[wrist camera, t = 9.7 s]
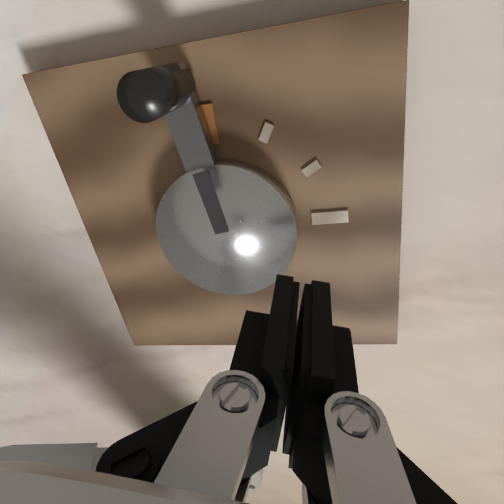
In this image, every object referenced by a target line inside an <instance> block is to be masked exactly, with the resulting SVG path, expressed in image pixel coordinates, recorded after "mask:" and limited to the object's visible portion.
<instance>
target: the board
mask: <svg viewBox="0 0 504 504" xmlns="http://www.w3.org/2000/svg"><path fill="white" fill-rule="evenodd" d="M408 17H409V0H406V1H401V2H396V3H391V4H385V5H380V6H375V7H370V8H365V9H360V10H354V11H349V12H344V13H339V14H334V15H328V16H323V17H318V18H313V19H308V20H302V21H297V22H292V23H287V24H282V25H277V26H271V27H266V28H261V29H256V30H251V31H245V32H240V33H235V34H230V35H225V36H220V37H214V38H209V39H204V40H199V41H194V42H188V43H183V44H178V45H173V46H168V47H163V48H157V49H152V50H147V51H142V52H137V53H131V54H126V55H121V56H116V57H111V58H105V59H100V60H95V61H90V62H85V63H80V64H74V65H69V66H64V67H59V68H54V69H48V70H43V71H38V72H33V73H28V74H23V75H22V76H23V78H24V81H25V83H26V86H27V88H28V90H29V93H30V95H31V98H32V100H33V103H34V105H35V107H36V110H37V112H38V115H39V117H40V119H41V122H42V124H43V127H44V129H45V131H46V134H47V136H48V139H49V141H50V143H51V146H52V148H53V151H54V153H55V156H56V158H57V160H58V163H59V165H60V168H61V170H62V172H63V175H64V177H65V180H66V182H67V184H68V187H69V189H70V192H71V194H72V197H73V199H74V201H75V204H76V206H77V209H78V211H79V213H80V216H81V218H82V221H83V223H84V225H85V228H86V230H87V233H88V235H89V237H90V240H91V242H92V245H93V247H94V250H95V252H96V254H97V257H98V259H99V262H100V264H101V266H102V269H103V271H104V274H105V276H106V278H107V281H108V283H109V286H110V288H111V291H112V293H113V295H114V298H115V300H116V303H117V305H118V307H119V310H120V312H121V315H122V317H123V319H124V322H125V324H126V327H127V329H128V331H129V334H130V336H131V339H132V341H133V344H134V345H237V341H238V337H239V334H240V330H241V327H242V323H243V319H244V316H245V312H246V310H249V311H255V312H260V313H266V314H270V310H271V304H272V299H273V293H274V287H275V282H274V283H273V284H271V285H270V286H268V287H266V288H264V289H262V290H259V291H256V292H253V293H248V294H241V295H227V294H220V293H216V292H212V291H209V290H206V289H203V288H201V287H199V286H197V285H195V284H193V283H192V282H190V281H189V280H187V279H186V278H184V277H183V276H182V275H181V274H180V273H179V272H178V271H176V269H175V268H174V267H173V266H172V265H171V264H170V262H169V261H168V260H167V258H166V257H165V255H164V253H163V251H162V249H161V246H160V244H159V241H158V237H157V232H156V214H157V209H158V206H159V203H160V201H161V199H162V197H163V195H164V193H165V192H166V191H167V189H168V188H169V187H170V186H171V185H172V184H173V183H174V182H175V181H176V180H177V179H178V178H179V177H180V176H181V175H182V174H183V173H184V172H186V170H185V168H184V165H183V163H182V160H181V157H180V155H179V152H178V150H177V147H176V145H175V142H174V140H173V137H172V134H171V132H170V129H169V127H168V124H167V122H166V119H165V117H164V116H162V117H160V118H158V119H156V120H154V121H153V122H150V123H139V122H136V121H134V120H132V119H130V118H129V117H128V116H127V115H126V114H125V113H124V112H123V110H122V109H121V107H120V105H119V103H118V99H117V86H118V83H119V81H120V79H121V78H122V76H123V75H125V74H126V73H128V72H130V71H135V70H140V69H145V68H150V67H154V66H159V65H164V64H169V63H183V62H185V63H186V65H187V68H188V69H189V70H190V71H191V73H192V75H193V77H194V79H195V84H196V90H195V92H196V95H197V97H198V100H199V103H200V106H201V109H202V112H203V115H204V118H205V121H206V124H207V126H208V129H209V132H210V135H211V138H212V141H213V144H214V147H215V150H216V153H217V156H218V158H219V159H230V160H237V161H242V162H246V163H249V164H251V165H254V166H256V167H258V168H260V169H262V170H263V171H265V172H267V173H268V174H270V175H271V176H272V177H273V178H274V179H275V180H277V181H278V182H279V184H280V185H281V186H282V187H283V188H284V189H285V191H286V192H287V194H288V195H289V197H290V199H291V201H292V203H293V205H294V208H295V211H296V216H297V222H298V232H297V241H296V249H295V253H294V256H293V259H292V261H291V263H290V265H289V267H288V268H287V270H286V271H285V272H284V274H283V275H285V276H292V277H294V279H293V281H294V282H300V286H299V300H298V314H299V309H300V304H301V299H302V294H303V289H304V285H305V283H306V284H311V282H312V280H316V281H322V282H328V283H330V292H331V308H332V324H333V325H335V326H340V327H346V328H349V329H350V331H351V337H352V344H397V330H398V301H399V273H400V244H401V216H402V187H403V159H404V130H405V102H406V73H407V45H408ZM298 314H297V319H298Z"/></svg>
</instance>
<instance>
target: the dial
mask: <svg viewBox="0 0 504 504" xmlns="http://www.w3.org/2000/svg"><path fill="white" fill-rule="evenodd" d="M195 90H196V84H195V79H194V77H193V75H192V73H191V71H190V70H189V69H188V68H187V65H186V63H185V62H183V63H169V64H164V65H159V66H154V67H150V68H145V69H140V70H135V71H130V72H128V73H126V74H125V75H123V76H122V78H121V79H120V81H119V83H118V86H117V99H118V103H119V105H120V107H121V109H122V110H123V112H124V113H125V114H126V115H127V116H128V117H129V118H130V119H132V120H134V121H136V122H139V123H150V122H153V121H154V120H156V119H158V118H160V117H162V116H164V117H165V119H166V122H167V124H168V127H169V129H170V132H171V134H172V137H173V140H174V142H175V145H176V147H177V150H178V152H179V155H180V157H181V160H182V163H183V165H184V168H185V170H186V172H184V173H183V174H182V175H181V176H180V177H179V178H178V179H177V180H176V181H175V182H174V183H173V184H172V185H171V186H170V187H169V188H168V189H167V191H166V192H165V193H164V195H163V197H162V199H161V201H160V203H159V206H158V209H157V214H156V232H157V237H158V241H159V244H160V246H161V249H162V251H163V253H164V255H165V257H166V258H167V260H168V261H169V262H170V264H171V265H172V266H173V267H174V268H175V269H176V271H178V272H179V273H180V274H181V275H182V276H183V277H184V278H186V279H187V280H189V281H190V282H192V283H193V284H195V285H197V286H199V287H201V288H203V289H206V290H209V291H212V292H216V293H220V294H227V295H241V294H248V293H253V292H256V291H259V290H262V289H264V288H266V287H268V286H270V285H271V284H273V283H274V282H276V276H277V274H279V275H283V274H284V272H285V271H286V270H287V268H288V267H289V265H290V263H291V261H292V259H293V256H294V253H295V249H296V241H297V232H298V222H297V216H296V211H295V208H294V205H293V203H292V201H291V199H290V197H289V195H288V194H287V192H286V191H285V189H284V188H283V187H282V186H281V185H280V184H279V182H278V181H277V180H275V179H274V178H273V177H272V176H271V175H270V174H268V173H267V172H265V171H263V170H262V169H260V168H258V167H256V166H254V165H251V164H249V163H246V162H242V161H237V160H230V159H219V158H218V156H217V153H216V150H215V147H214V144H213V141H212V138H211V135H210V132H209V129H208V126H207V124H206V121H205V118H204V115H203V112H202V109H201V106H200V103H199V100H198V97H197V95H196V92H195Z"/></svg>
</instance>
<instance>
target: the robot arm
mask: <svg viewBox="0 0 504 504" xmlns="http://www.w3.org/2000/svg"><path fill="white" fill-rule="evenodd" d="M293 279H294V277H292V276H285V275H279V274H277V276H276V282H275V287H274V293H273V299H272V304H271V310H270V314H266V313H260V312H255V311H249V310H246V312H245V316H244V319H243V323H242V327H241V330H240V334H239V337H238V341H237V345H236V348H235V352H234V356H233V359H232V363H231V367H230V370H227V371H224V372H221V373H218V374H217V375H215V376H214V377H212V379H211V380H210V381H209V382H208V384H207V385H206V387H205V389H204V391H203V393H202V395H201V396H200V398H199V400H198V401H197V402H195V403H193V404H191V405H189V406H187V407H185V408H183V409H181V410H179V411H177V412H175V413H173V414H171V415H169V416H167V417H165V418H163V419H161V420H159V421H157V422H155V423H153V424H151V425H149V426H147V427H145V428H143V429H140V430H138V431H136V432H134V433H132V434H130V435H128V436H126V437H124V438H122V439H120V440H119V441H117V442H116V443H114V444H113V445H111V446H110V447H109V448H98V445H97V443H80V444H34V445H11V446H5V447H1V448H0V504H249V503H245V499H246V496H248V495H250V494H252V493H253V492H255V491H256V490H257V489H258V487H259V486H260V484H261V480H262V468H264V467H265V466H267V465H268V460H269V455H270V451H275V452H276V451H277V446H278V442H279V437H280V432H281V428H282V423H283V418H284V413H285V409H286V415H285V427H284V438H283V453H285V454H289V455H290V456H289V468H292V470H293V472H294V473H295V474H296V475H297V477H298V478H299V479H300V480H301V482H302V483H303V484H302V499H303V504H457V503H456V502H455V501H454V500H453V499H452V498H451V497H450V496H449V495H448V494H446V493H445V492H444V491H443V490H442V489H441V488H440V487H439V486H438V485H437V484H436V483H435V482H434V481H432V480H431V479H430V478H429V477H428V476H427V475H426V474H425V473H424V472H423V471H422V470H421V469H420V468H418V467H417V466H416V465H415V464H414V463H413V462H412V461H411V460H410V459H409V458H408V457H407V456H406V455H405V454H403V453H402V452H401V451H400V450H399V449H398V448H397V447H396V445H395V442H394V440H393V437H392V434H391V431H390V428H389V426H388V423H387V420H386V418H385V416H384V414H383V412H382V410H381V409H380V408H379V407H378V406H377V405H376V403H375V402H373V401H372V400H370V399H369V398H368V397H366V396H364V395H361V394H359V392H358V384H357V376H356V368H355V360H354V352H353V345H352V337H351V331H350V329H349V328H346V327H340V326H335V325H333V324H332V308H331V292H330V283H328V282H322V281H316V280H312V282H311V284H306V283H305V285H304V289H303V294H302V299H301V304H300V309H299V314H298V300H299V286H300V282H294V281H293ZM297 314H298V319H297Z"/></svg>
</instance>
